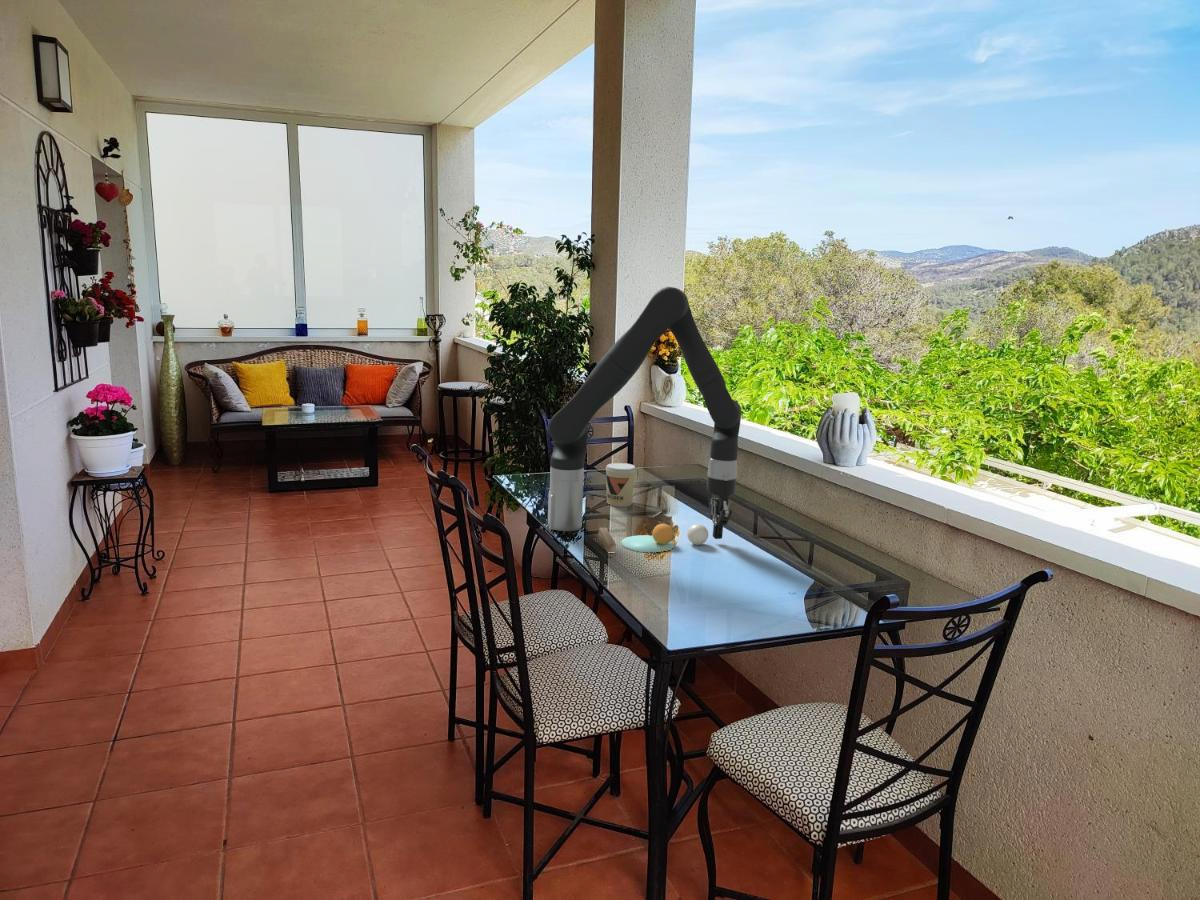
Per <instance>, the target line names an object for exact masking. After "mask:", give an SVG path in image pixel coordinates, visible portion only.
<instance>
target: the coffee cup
mask: <svg viewBox="0 0 1200 900" xmlns="http://www.w3.org/2000/svg"><path fill="white" fill-rule="evenodd" d="M605 470H606V471H605V473H606V475H605V478H606V479H605V480H606V481H605V483H606V484H605V485H606V503H608V504H607V505H609V504H610V505H609V506H612V505H613V506H612V507H618V508H619V507H622V508H623V506H624V507H625V508H626V507H629V506H631V505H632V502H633V495H634V488H635V487H634V486H635V480H636V478H635V477H636V471H637V468H636V466H635V465H634V464H631V463H625V462H612V463H609V464H607V465H606V466H605Z"/></svg>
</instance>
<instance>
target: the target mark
mask: <svg viewBox="0 0 1200 900" xmlns="http://www.w3.org/2000/svg"><path fill="white" fill-rule="evenodd" d="M620 544H621V546H622V547H623V548H625V549H627V548H628V549H627V550H630V549H631V550H630V551H633V550H634V551H633V552H637V551H639V552H638V553H643V552H648V553H647V554H651V553H650V552H653V553H652V554H657V553H656V552H661V551H662V550H660V549H663V550H665V551H667V550H668V549H669V550H670V551H672V550H673V549H674V548H675V543H674V542H673V541H672V540H671V541H670V542H669V543H668V544H665V545H661V544H658V543H657V542H655V540H654V539H653V535H643V534H641V535H632V536H627V537H625V538H623V539H622V540H621V543H620ZM665 547H666V548H665ZM672 548H673V549H672ZM671 549H672V550H671ZM654 552H655V553H654ZM667 552H668V551H667ZM662 553H664V552H663V551H662Z"/></svg>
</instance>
